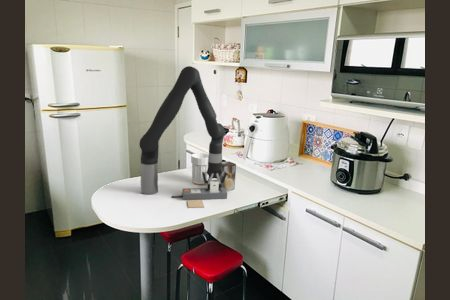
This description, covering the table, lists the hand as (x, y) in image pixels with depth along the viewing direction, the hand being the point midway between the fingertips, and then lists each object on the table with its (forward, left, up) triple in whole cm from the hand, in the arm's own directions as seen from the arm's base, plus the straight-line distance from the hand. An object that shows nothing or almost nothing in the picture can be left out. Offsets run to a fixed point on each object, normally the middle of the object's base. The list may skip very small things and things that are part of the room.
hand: (213, 189), depth 180 cm
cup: (-5, +22, -4) cm, 22 cm away
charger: (0, 0, -2) cm, 2 cm away
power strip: (-8, 0, -4) cm, 9 cm away
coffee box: (+9, +10, -4) cm, 14 cm away
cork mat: (-11, -9, -4) cm, 15 cm away
